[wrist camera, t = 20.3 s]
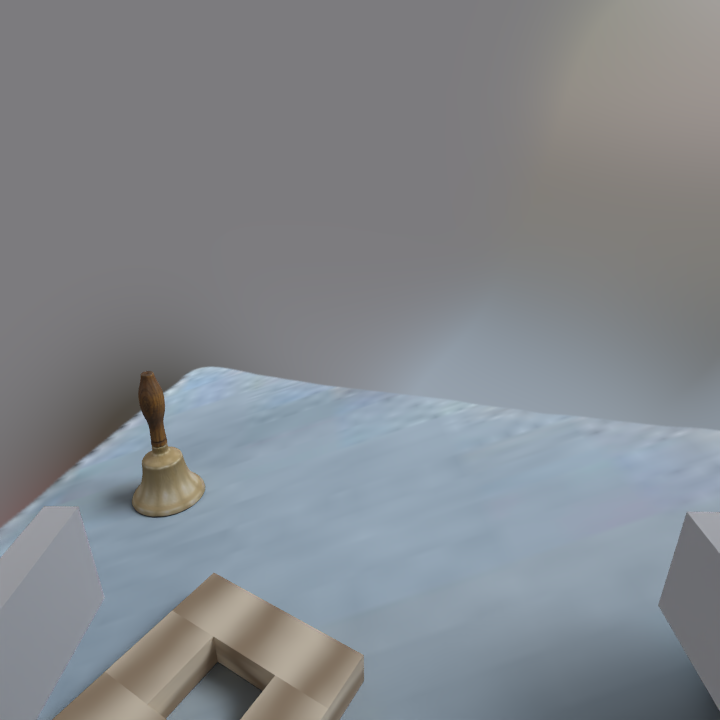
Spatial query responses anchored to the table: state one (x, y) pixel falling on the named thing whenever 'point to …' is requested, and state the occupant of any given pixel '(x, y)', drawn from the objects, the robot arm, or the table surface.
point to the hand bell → (162, 462)
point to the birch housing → (226, 662)
